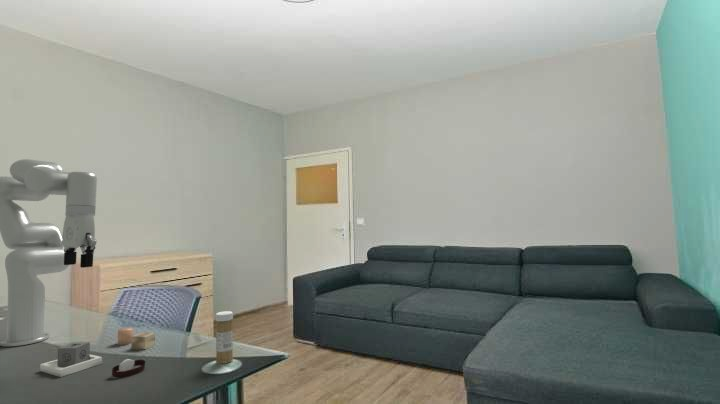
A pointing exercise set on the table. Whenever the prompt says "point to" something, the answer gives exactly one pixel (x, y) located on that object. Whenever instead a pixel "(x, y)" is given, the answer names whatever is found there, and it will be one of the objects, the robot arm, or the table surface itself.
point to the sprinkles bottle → (224, 337)
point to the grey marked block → (73, 354)
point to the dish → (63, 371)
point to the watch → (128, 368)
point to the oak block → (143, 340)
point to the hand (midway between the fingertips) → (78, 265)
